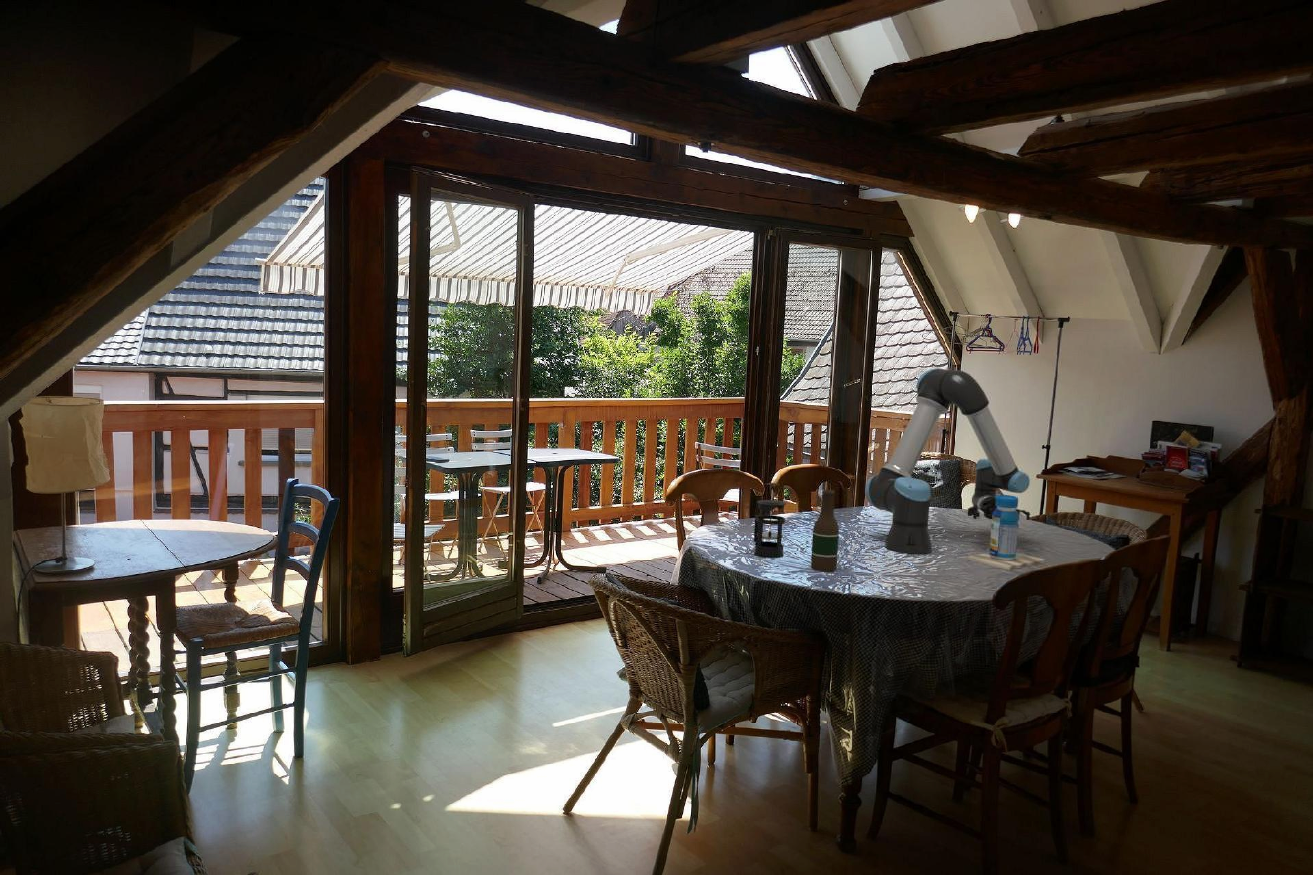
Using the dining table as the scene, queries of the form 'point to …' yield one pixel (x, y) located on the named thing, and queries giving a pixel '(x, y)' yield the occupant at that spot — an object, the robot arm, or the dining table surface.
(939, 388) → the robot arm
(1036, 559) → the birch board
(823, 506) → the beer bottle
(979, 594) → the dining table surface
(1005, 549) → the beverage bottle
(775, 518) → the black lantern
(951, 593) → the dining table surface
